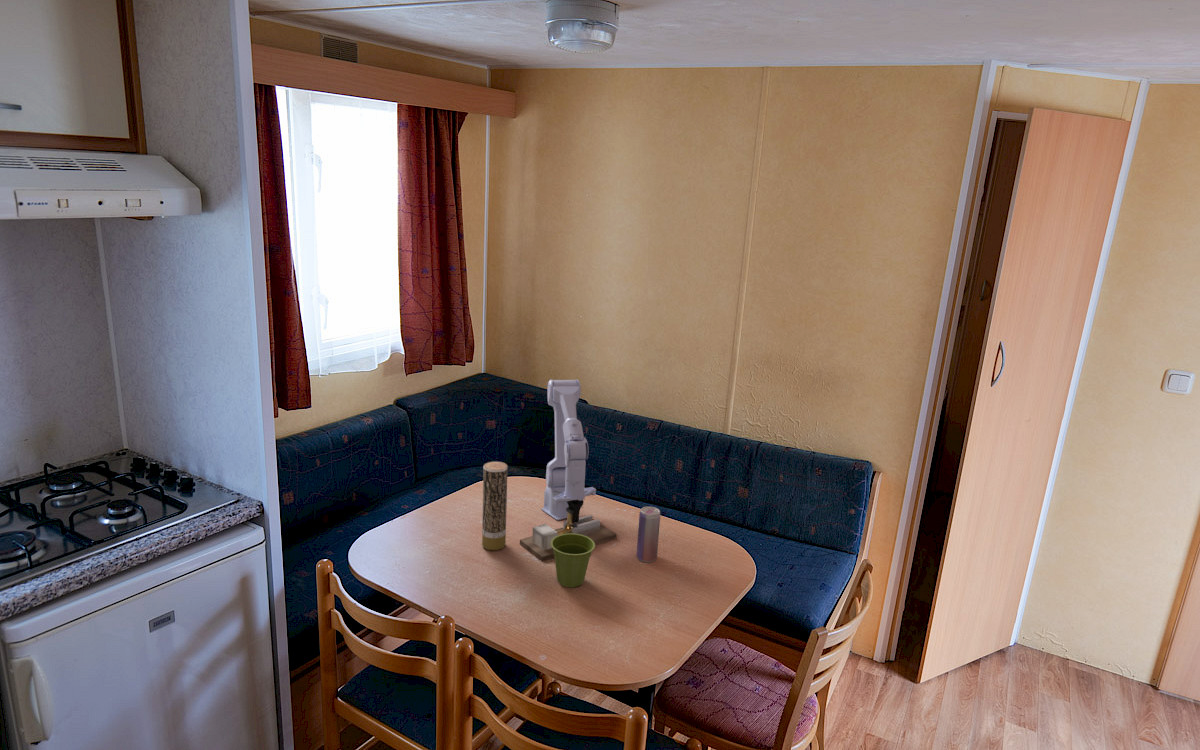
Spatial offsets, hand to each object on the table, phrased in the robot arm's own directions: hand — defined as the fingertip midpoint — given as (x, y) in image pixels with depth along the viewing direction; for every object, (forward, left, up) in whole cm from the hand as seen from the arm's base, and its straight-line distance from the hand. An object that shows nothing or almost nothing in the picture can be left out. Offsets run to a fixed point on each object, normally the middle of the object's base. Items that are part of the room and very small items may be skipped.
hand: (573, 521), depth 223 cm
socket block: (0, -10, -5) cm, 11 cm away
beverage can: (+20, +12, -6) cm, 24 cm away
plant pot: (+19, -14, -6) cm, 24 cm away
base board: (0, -1, -6) cm, 6 cm away
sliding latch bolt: (0, -6, -4) cm, 7 cm away
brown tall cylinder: (-9, -22, -6) cm, 24 cm away
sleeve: (0, +3, -5) cm, 6 cm away
